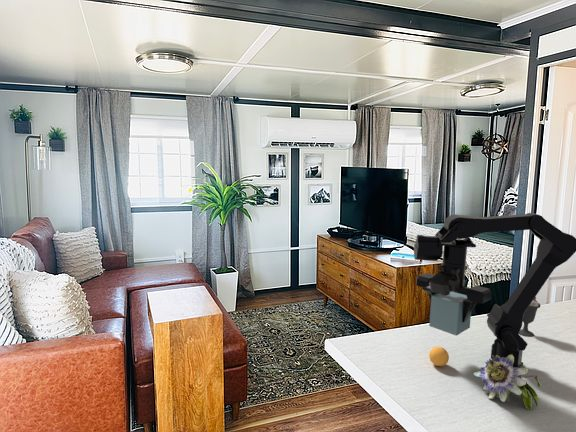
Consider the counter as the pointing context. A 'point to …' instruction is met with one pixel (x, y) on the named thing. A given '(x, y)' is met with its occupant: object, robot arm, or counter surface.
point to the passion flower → (506, 380)
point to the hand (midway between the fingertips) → (449, 317)
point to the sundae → (529, 317)
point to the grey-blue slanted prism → (448, 313)
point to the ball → (438, 356)
